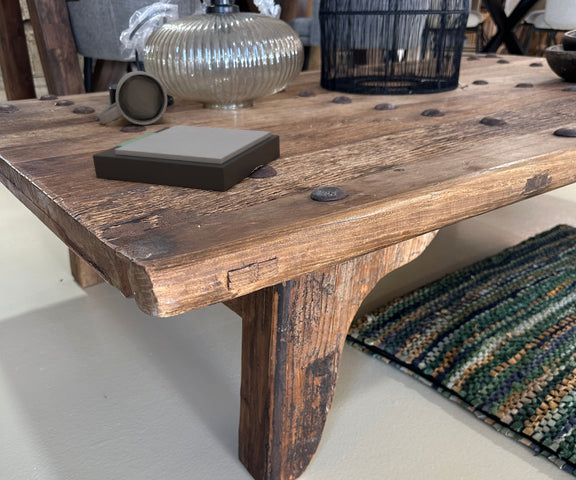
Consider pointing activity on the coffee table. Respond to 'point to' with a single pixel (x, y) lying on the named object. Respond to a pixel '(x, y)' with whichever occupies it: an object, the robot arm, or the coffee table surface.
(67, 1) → the robot arm
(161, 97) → the ceramic mug
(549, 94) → the coffee table surface
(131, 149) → the scale
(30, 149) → the coffee table surface
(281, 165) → the coffee table surface
